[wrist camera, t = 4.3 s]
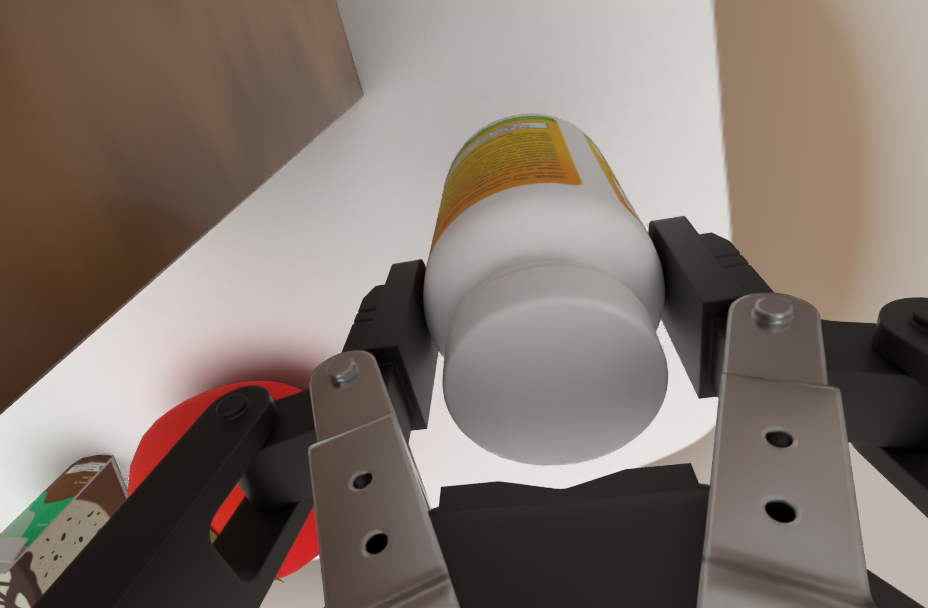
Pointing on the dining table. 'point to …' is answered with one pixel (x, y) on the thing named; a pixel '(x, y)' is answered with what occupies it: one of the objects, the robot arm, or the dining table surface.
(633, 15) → the dining table surface
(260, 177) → the stand
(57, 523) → the food container
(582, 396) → the supplement bottle
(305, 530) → the tomato
